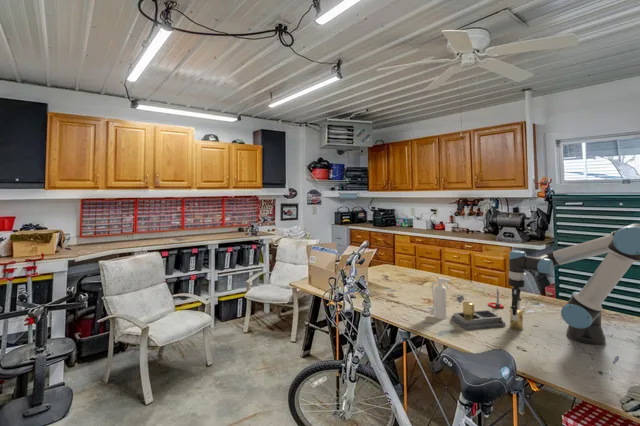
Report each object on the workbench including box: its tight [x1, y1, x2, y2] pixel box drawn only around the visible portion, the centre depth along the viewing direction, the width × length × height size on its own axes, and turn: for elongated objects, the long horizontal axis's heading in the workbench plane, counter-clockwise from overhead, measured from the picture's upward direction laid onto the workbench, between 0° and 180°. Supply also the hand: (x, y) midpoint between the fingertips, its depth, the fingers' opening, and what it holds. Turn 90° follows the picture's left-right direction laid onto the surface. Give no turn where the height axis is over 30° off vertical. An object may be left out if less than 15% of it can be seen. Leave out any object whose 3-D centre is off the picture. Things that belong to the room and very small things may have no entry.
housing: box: [450, 301, 506, 331], centre depth 180 cm, size 15×24×12 cm, turn 98°
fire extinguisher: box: [428, 276, 451, 320], centre depth 189 cm, size 7×12×25 cm, turn 62°
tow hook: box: [487, 288, 505, 309], centre depth 205 cm, size 8×13×9 cm
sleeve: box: [509, 308, 524, 332], centre depth 171 cm, size 6×6×10 cm
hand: (515, 315), depth 171 cm, fingers open, 13 cm apart
